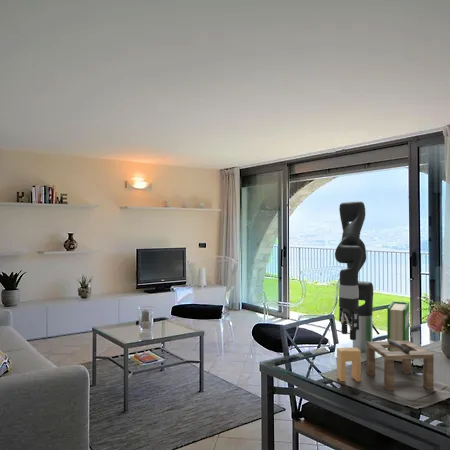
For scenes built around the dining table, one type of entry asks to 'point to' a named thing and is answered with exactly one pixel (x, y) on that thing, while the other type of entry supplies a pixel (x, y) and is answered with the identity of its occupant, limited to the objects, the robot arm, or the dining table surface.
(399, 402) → the dining table surface
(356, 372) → the wooden arch block
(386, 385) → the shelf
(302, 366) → the dining table surface
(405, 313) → the hardback book
